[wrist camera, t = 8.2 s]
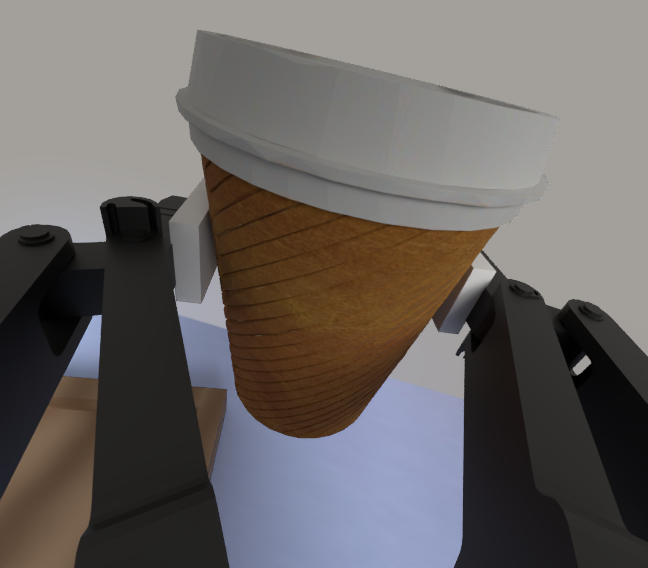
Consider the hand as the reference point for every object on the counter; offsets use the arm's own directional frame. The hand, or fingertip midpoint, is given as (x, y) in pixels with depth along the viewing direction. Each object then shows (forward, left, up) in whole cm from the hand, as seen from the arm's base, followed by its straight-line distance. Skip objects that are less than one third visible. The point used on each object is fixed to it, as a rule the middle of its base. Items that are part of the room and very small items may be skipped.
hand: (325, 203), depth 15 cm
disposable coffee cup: (0, +5, -7) cm, 8 cm away
